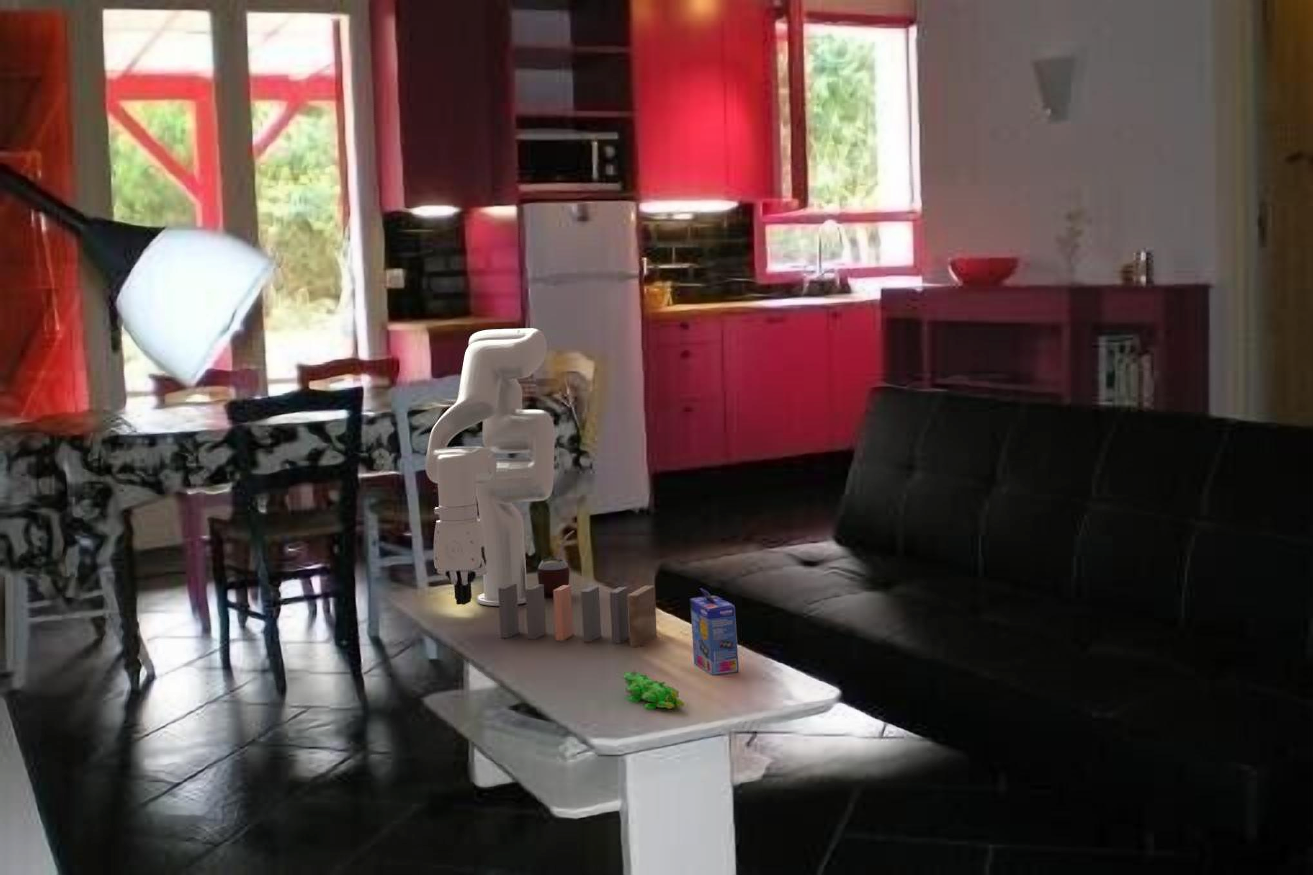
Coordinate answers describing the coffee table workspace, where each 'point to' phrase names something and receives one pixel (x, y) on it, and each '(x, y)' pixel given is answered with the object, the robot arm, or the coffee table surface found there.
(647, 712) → the coffee table surface
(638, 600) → the end post
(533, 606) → the domino
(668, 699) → the green bumpy elongated piece
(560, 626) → the domino
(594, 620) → the domino
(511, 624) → the domino
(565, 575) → the mate gourd
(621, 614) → the domino
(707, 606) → the ink cartridge box
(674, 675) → the coffee table surface
